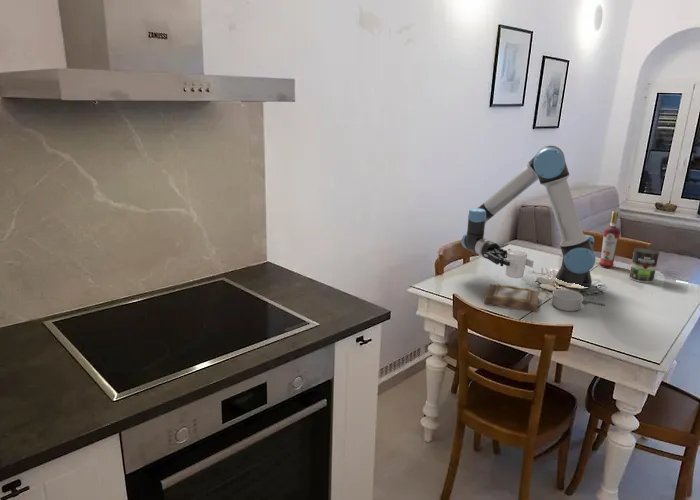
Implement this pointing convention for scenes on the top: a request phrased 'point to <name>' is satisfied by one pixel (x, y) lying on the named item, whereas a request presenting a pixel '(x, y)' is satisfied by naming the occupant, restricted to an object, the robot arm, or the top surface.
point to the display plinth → (512, 297)
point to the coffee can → (644, 265)
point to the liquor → (610, 243)
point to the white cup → (520, 259)
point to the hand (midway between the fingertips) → (524, 265)
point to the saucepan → (569, 300)
